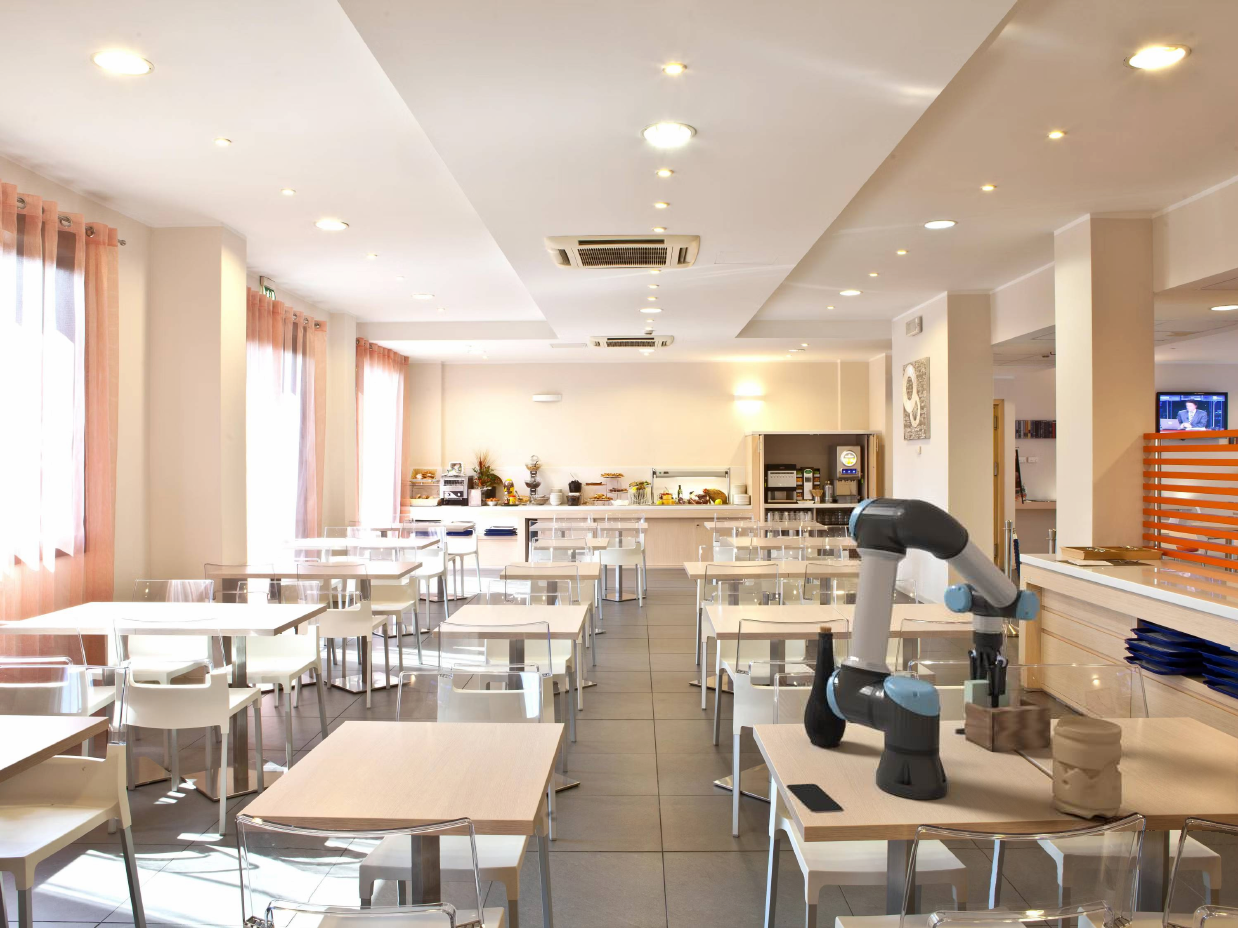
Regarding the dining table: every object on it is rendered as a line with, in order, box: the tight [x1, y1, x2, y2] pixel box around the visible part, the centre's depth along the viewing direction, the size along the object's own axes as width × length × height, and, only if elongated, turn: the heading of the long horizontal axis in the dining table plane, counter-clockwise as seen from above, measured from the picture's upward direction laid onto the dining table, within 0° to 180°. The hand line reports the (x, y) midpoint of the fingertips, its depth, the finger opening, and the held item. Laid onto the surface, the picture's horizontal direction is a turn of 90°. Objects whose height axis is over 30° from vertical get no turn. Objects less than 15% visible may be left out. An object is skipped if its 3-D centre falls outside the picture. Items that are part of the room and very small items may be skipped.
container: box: [1051, 714, 1123, 820], centre depth 172 cm, size 13×13×18 cm
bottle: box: [803, 626, 847, 749], centre depth 213 cm, size 11×11×30 cm
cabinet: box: [954, 697, 1052, 752], centre depth 218 cm, size 18×16×10 cm
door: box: [963, 679, 1011, 719], centre depth 223 cm, size 12×3×10 cm, turn 105°
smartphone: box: [785, 783, 844, 814], centre depth 176 cm, size 7×1×15 cm
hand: (987, 716), depth 223 cm, fingers closed on door, 3 cm apart
